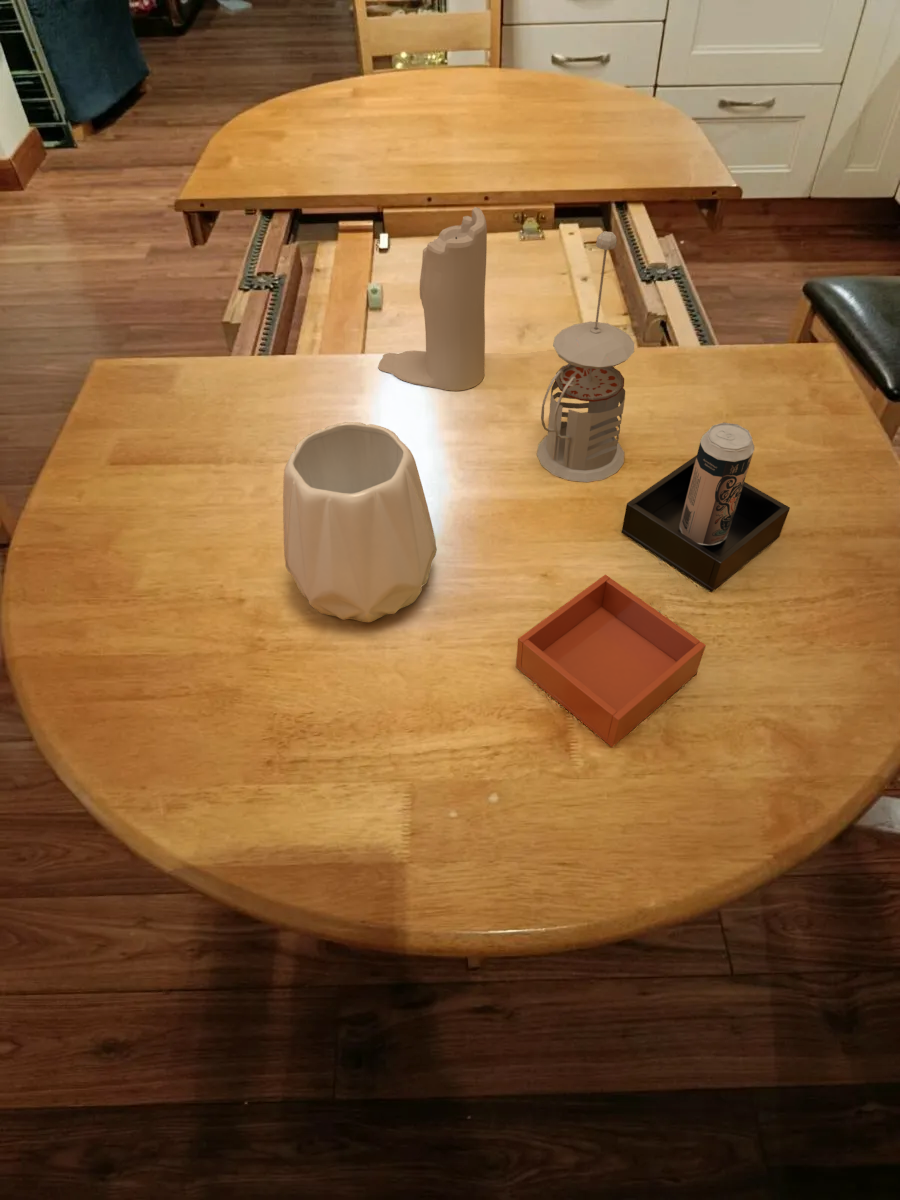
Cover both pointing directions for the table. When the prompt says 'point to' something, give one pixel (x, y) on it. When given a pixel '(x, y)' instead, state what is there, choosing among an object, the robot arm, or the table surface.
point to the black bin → (659, 532)
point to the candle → (450, 311)
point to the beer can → (716, 483)
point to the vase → (356, 522)
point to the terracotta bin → (609, 658)
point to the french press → (587, 397)
